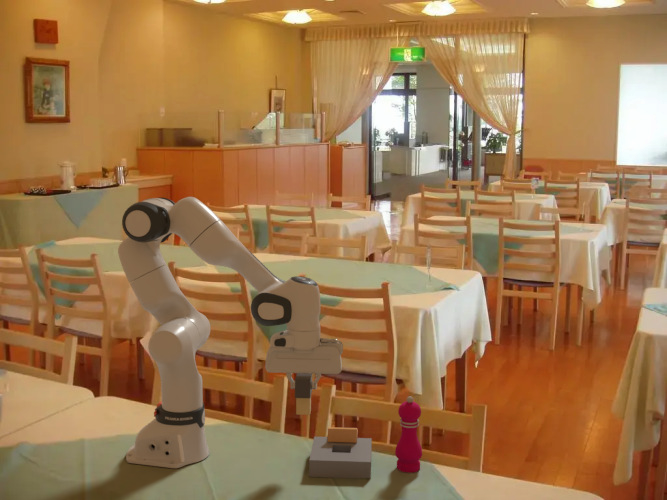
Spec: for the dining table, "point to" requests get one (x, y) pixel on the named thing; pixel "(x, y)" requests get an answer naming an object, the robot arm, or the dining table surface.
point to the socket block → (340, 458)
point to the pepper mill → (409, 437)
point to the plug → (303, 393)
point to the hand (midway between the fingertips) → (303, 388)
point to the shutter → (342, 434)
